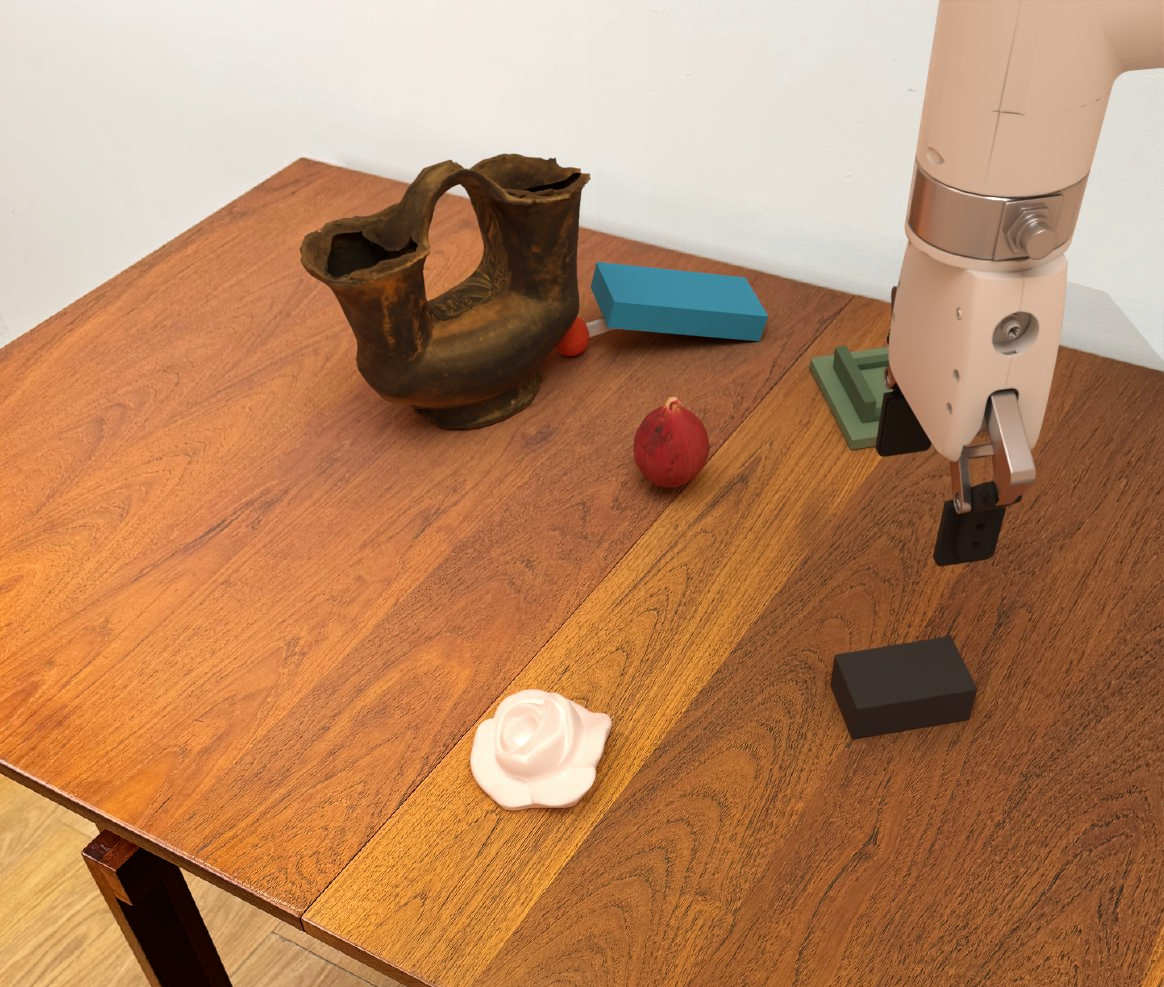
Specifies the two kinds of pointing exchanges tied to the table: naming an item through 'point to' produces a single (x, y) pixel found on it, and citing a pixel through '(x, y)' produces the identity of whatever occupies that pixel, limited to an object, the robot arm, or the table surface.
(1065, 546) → the table surface
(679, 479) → the onion
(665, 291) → the lever
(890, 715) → the black block
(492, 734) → the rose
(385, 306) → the pottery vessel
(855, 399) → the base pad
